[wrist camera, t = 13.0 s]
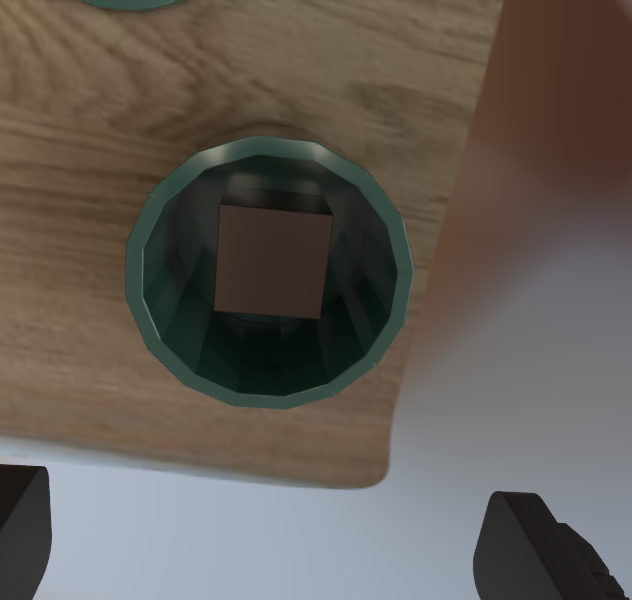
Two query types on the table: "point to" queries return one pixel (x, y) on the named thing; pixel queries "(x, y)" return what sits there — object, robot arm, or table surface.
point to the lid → (132, 4)
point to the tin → (264, 330)
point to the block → (272, 253)
